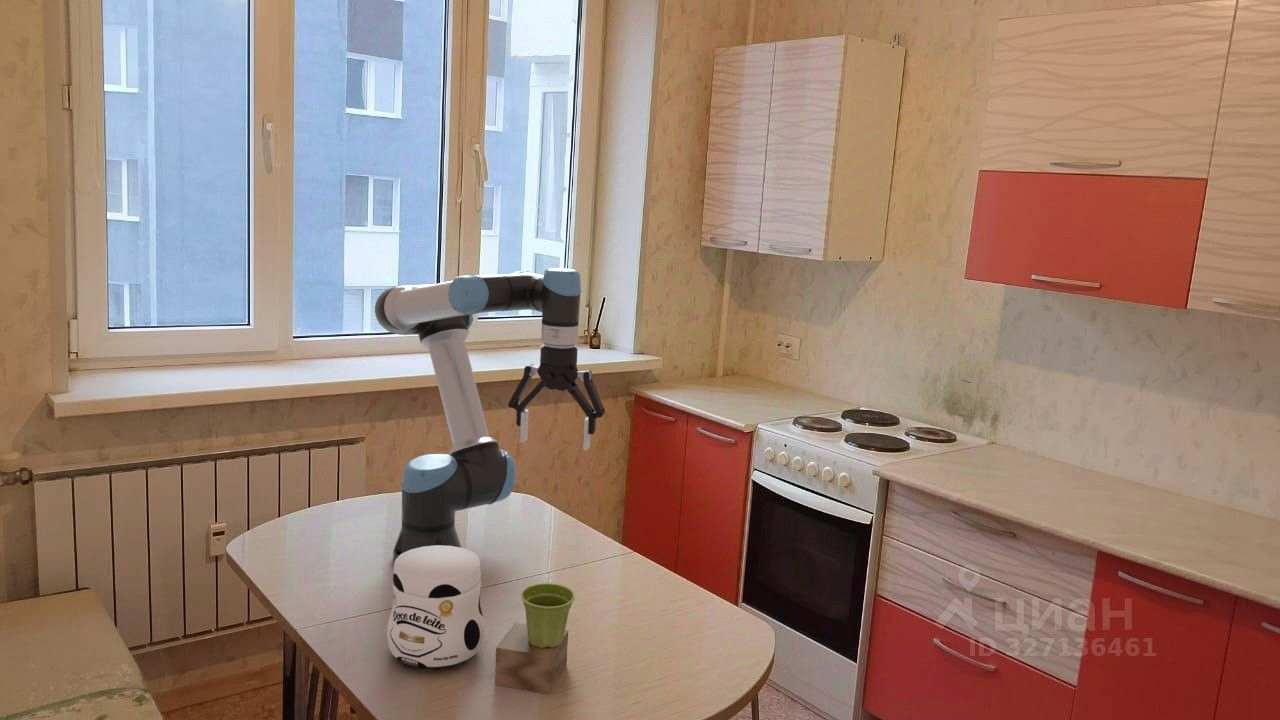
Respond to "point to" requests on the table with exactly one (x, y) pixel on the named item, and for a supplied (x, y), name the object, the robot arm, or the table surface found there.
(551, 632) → the plant pot
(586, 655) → the table surface
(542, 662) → the walnut block
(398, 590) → the milk container
